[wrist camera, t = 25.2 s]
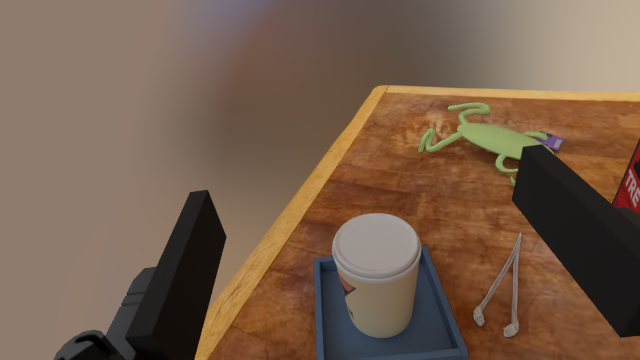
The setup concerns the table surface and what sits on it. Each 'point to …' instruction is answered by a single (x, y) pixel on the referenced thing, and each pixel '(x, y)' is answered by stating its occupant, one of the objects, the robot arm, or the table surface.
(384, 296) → the coffee cup
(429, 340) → the dish tray
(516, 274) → the tweezers
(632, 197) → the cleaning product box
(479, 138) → the figurine
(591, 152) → the table surface
